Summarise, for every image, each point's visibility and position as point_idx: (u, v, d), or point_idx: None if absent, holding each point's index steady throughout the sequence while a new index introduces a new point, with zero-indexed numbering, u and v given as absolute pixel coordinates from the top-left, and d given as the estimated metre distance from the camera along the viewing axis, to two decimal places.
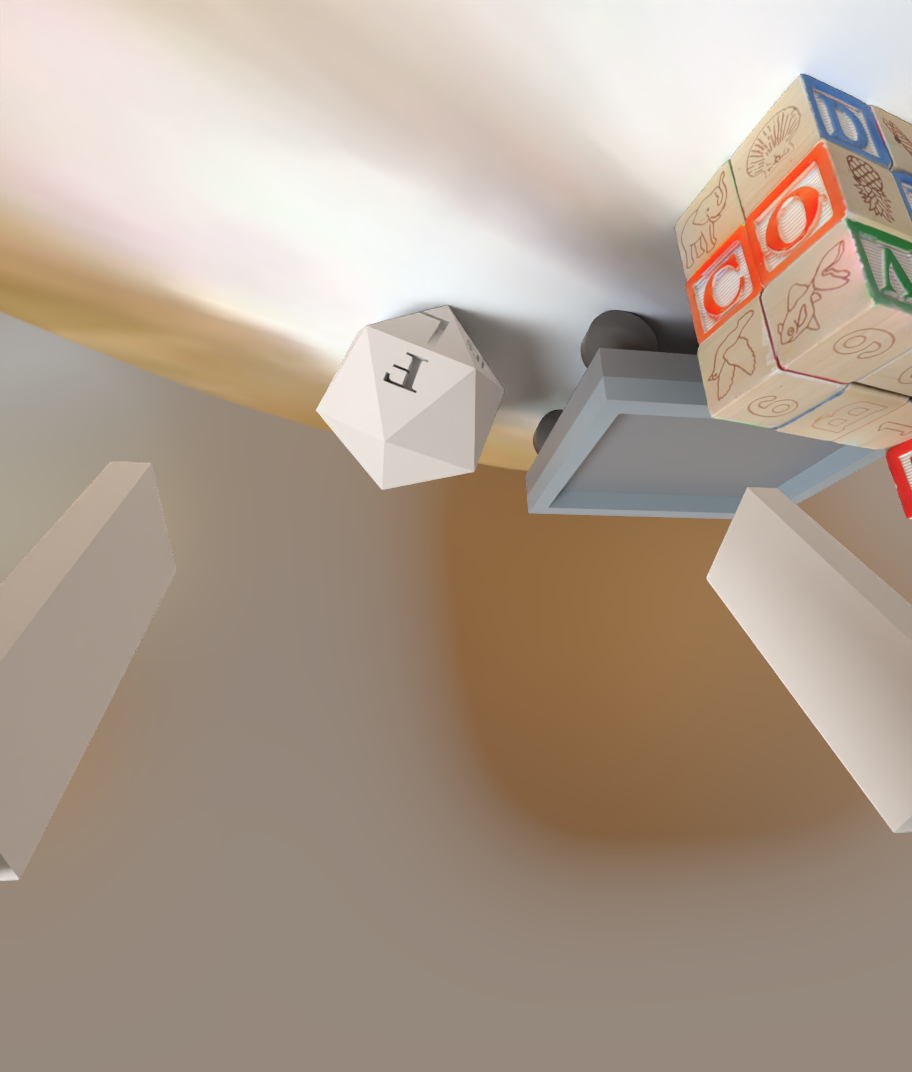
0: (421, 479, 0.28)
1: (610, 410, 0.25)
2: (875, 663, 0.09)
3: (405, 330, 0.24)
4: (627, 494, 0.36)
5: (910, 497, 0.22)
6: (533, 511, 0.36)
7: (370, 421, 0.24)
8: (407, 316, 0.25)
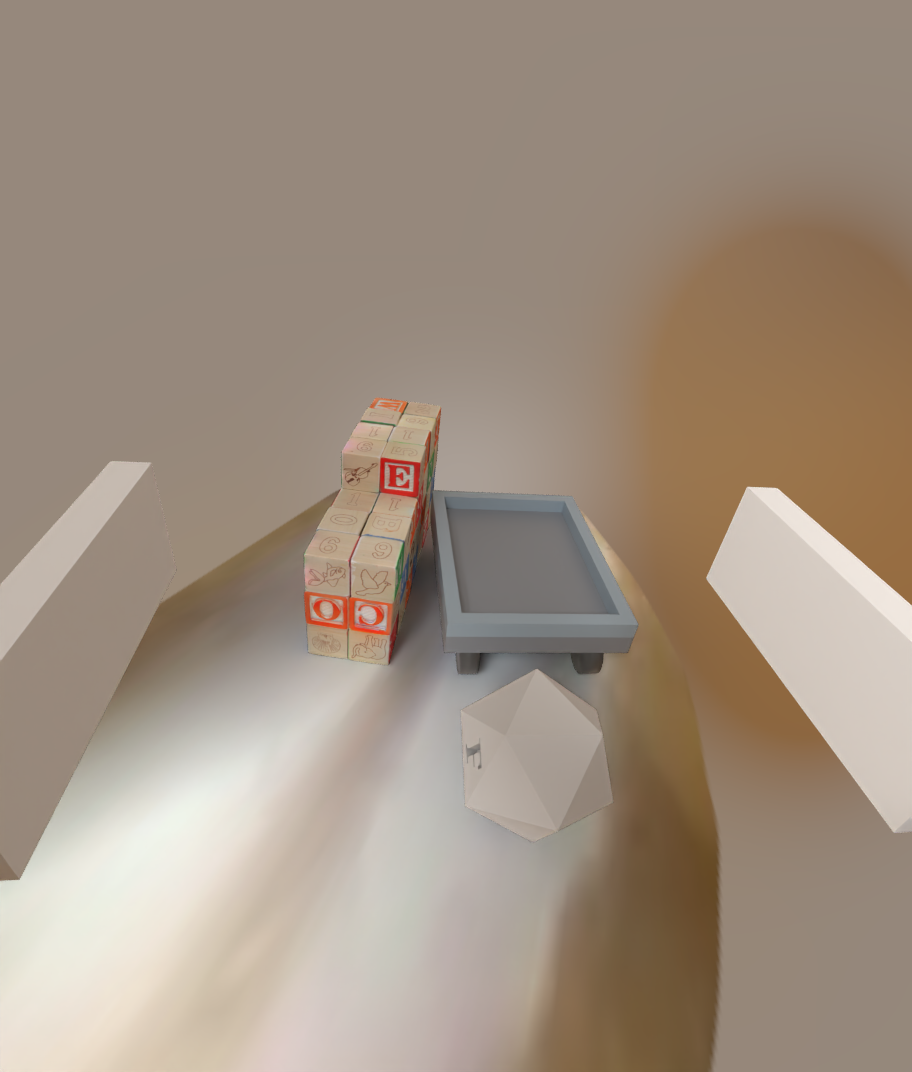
0: (566, 703, 0.30)
1: (459, 617, 0.36)
2: (876, 663, 0.09)
3: None
4: (592, 576, 0.43)
5: (415, 471, 0.42)
6: (633, 622, 0.38)
7: (507, 759, 0.28)
8: None
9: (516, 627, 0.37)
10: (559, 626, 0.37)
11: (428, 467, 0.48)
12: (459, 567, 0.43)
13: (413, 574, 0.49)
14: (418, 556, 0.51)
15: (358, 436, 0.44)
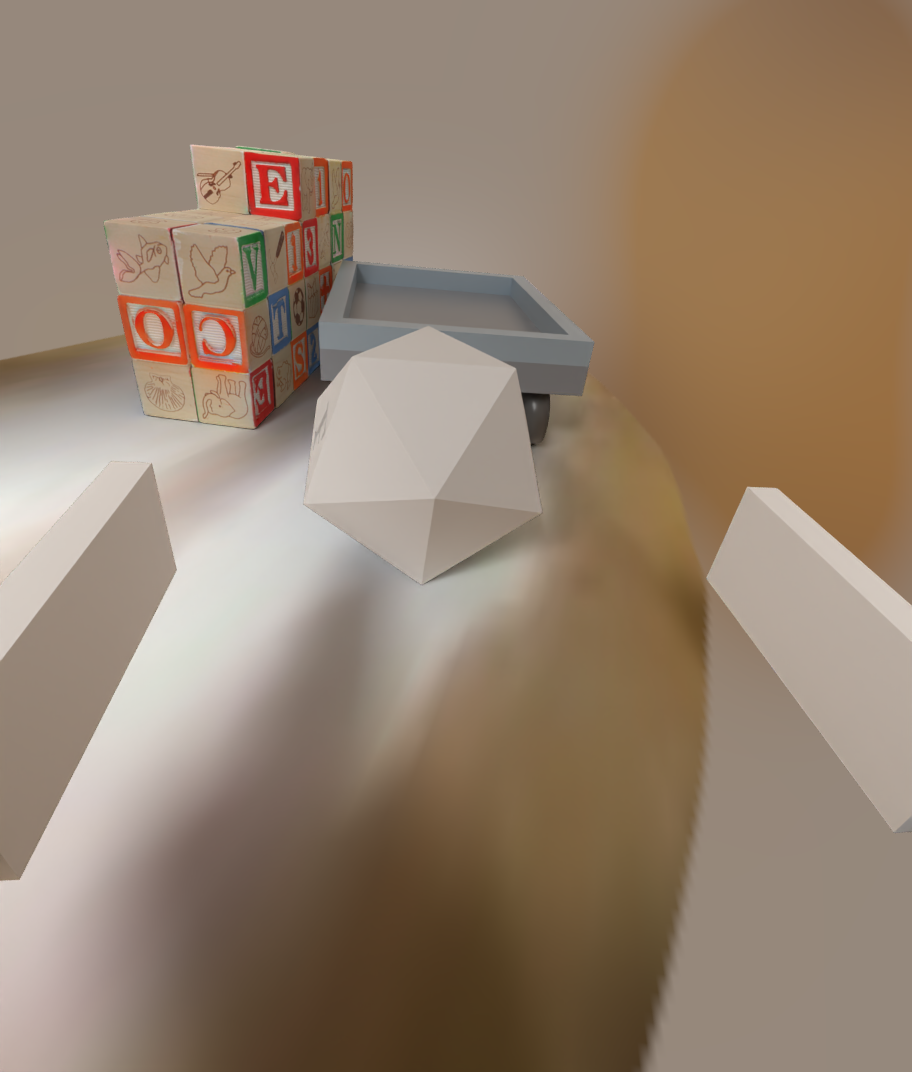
0: (464, 347, 0.19)
1: (337, 320, 0.25)
2: (876, 663, 0.09)
3: None
4: (539, 328, 0.33)
5: (293, 173, 0.31)
6: (586, 340, 0.27)
7: (356, 398, 0.17)
8: None
9: None
10: (482, 338, 0.26)
11: (330, 221, 0.37)
12: (361, 312, 0.32)
13: (314, 365, 0.38)
14: None
15: (223, 147, 0.33)
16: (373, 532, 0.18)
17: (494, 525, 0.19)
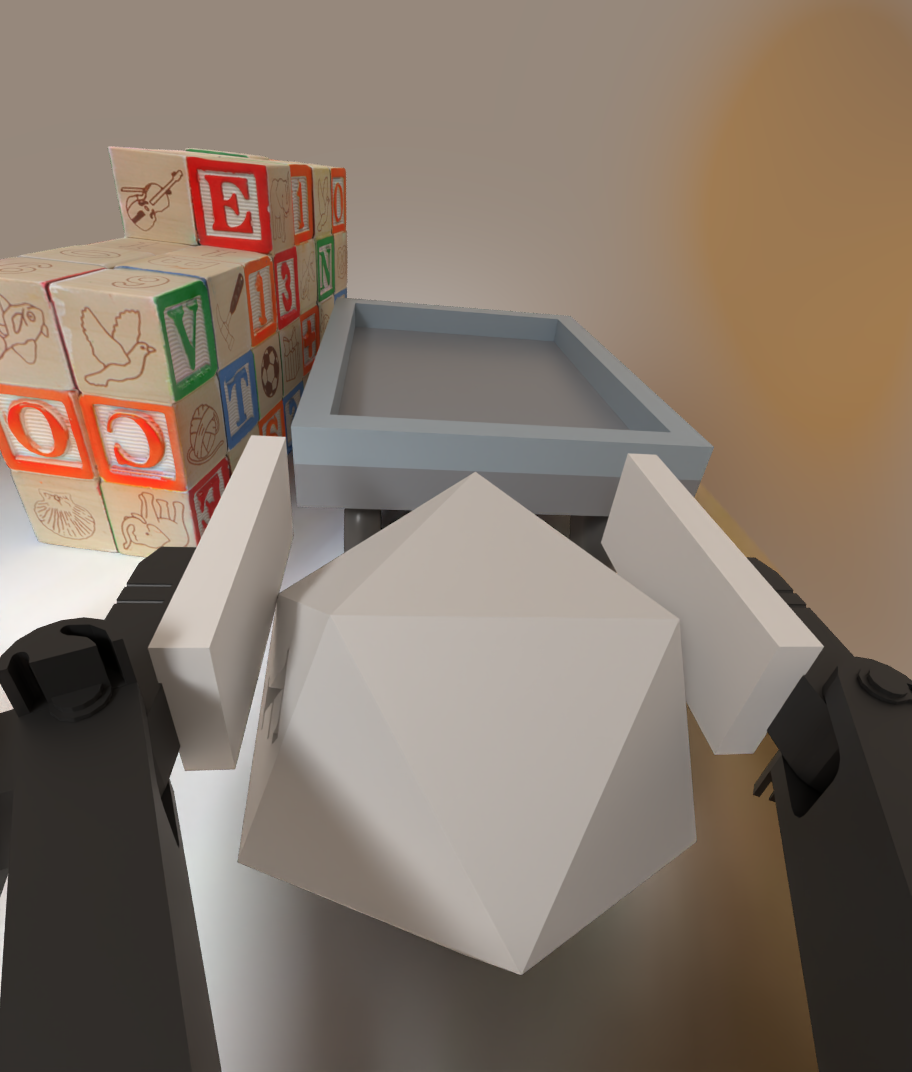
0: (555, 541, 0.10)
1: (321, 420, 0.16)
2: (705, 603, 0.10)
3: None
4: (609, 402, 0.23)
5: (258, 188, 0.21)
6: (701, 443, 0.18)
7: (340, 703, 0.08)
8: None
9: (449, 444, 0.17)
10: (544, 445, 0.17)
11: (315, 248, 0.28)
12: (359, 381, 0.23)
13: None
14: None
15: (164, 150, 0.23)
16: (377, 918, 0.09)
17: None
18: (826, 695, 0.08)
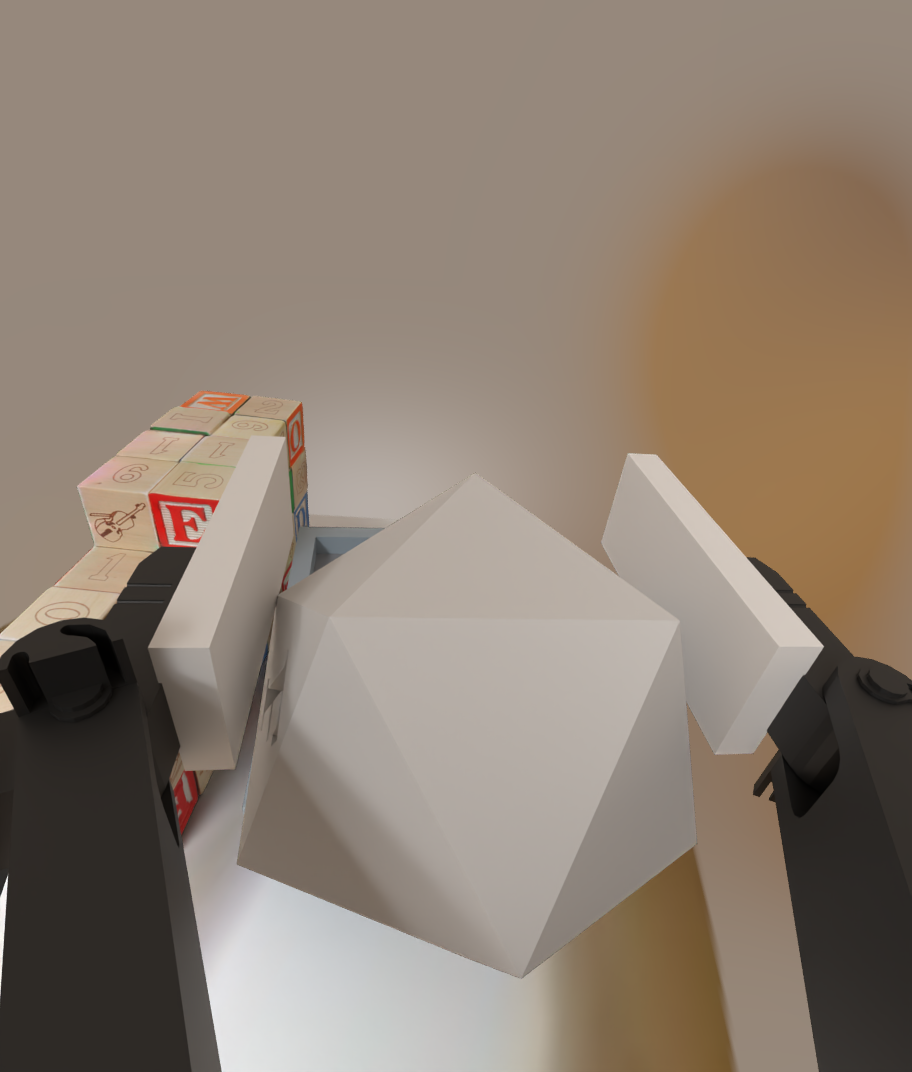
0: (555, 542, 0.10)
1: None
2: (705, 603, 0.10)
3: None
4: None
5: None
6: None
7: (340, 705, 0.08)
8: None
9: None
10: None
11: None
12: None
13: None
14: None
15: (129, 455, 0.26)
16: None
17: None
18: (826, 695, 0.08)
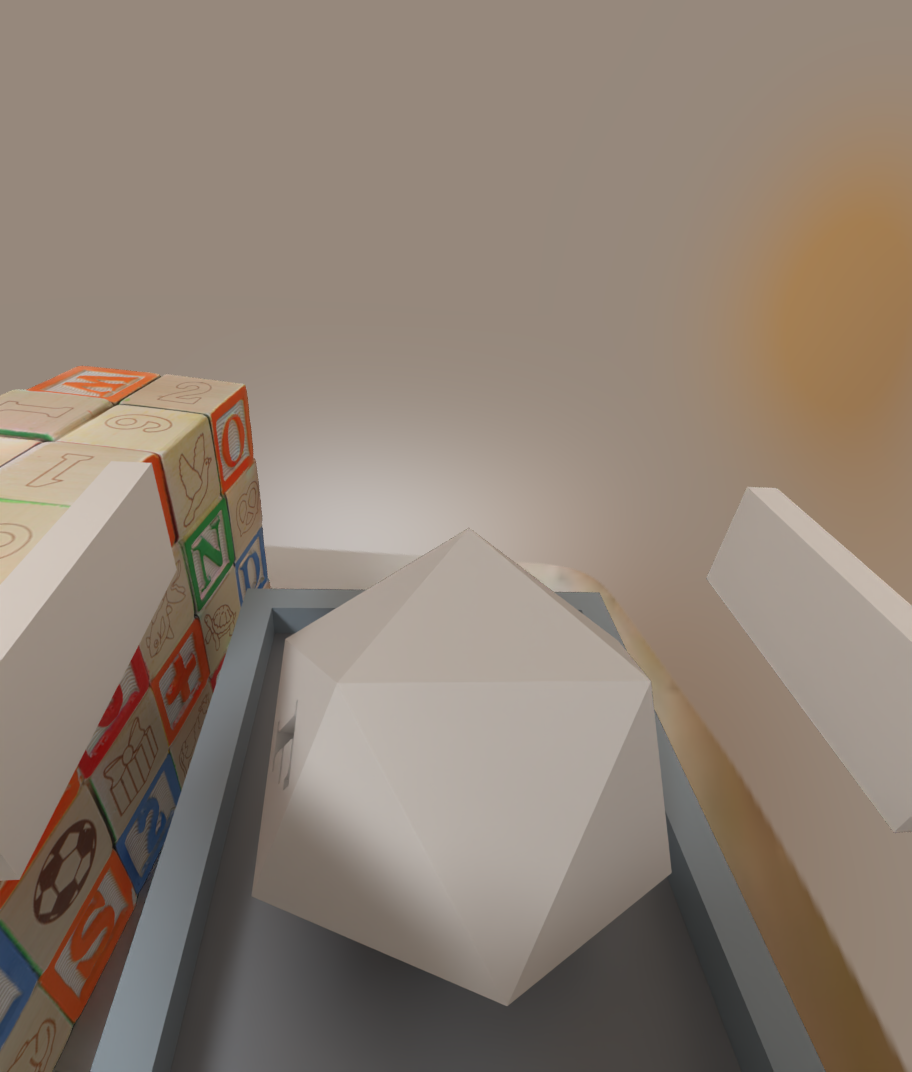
0: (541, 601, 0.10)
1: None
2: (876, 664, 0.09)
3: None
4: (683, 915, 0.13)
5: None
6: None
7: (347, 760, 0.09)
8: None
9: None
10: None
11: (183, 553, 0.17)
12: (238, 900, 0.13)
13: (160, 841, 0.18)
14: None
15: None
16: None
17: None
18: None
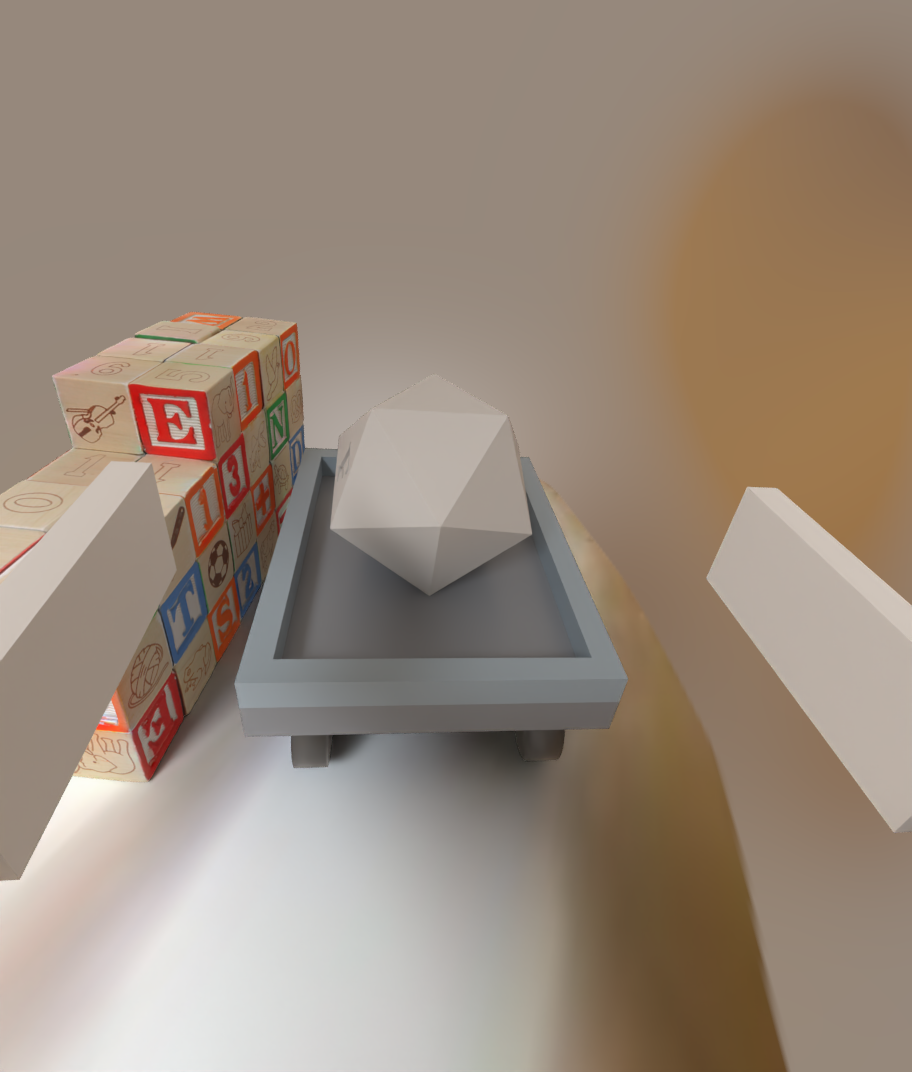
0: (465, 395, 0.22)
1: (264, 670, 0.18)
2: (876, 663, 0.09)
3: None
4: (550, 584, 0.25)
5: (199, 409, 0.22)
6: (617, 673, 0.19)
7: (376, 442, 0.20)
8: None
9: (381, 688, 0.18)
10: (469, 684, 0.19)
11: (266, 417, 0.29)
12: (316, 568, 0.24)
13: (251, 597, 0.29)
14: (267, 566, 0.32)
15: (110, 355, 0.24)
16: (389, 552, 0.22)
17: (491, 545, 0.22)
18: None
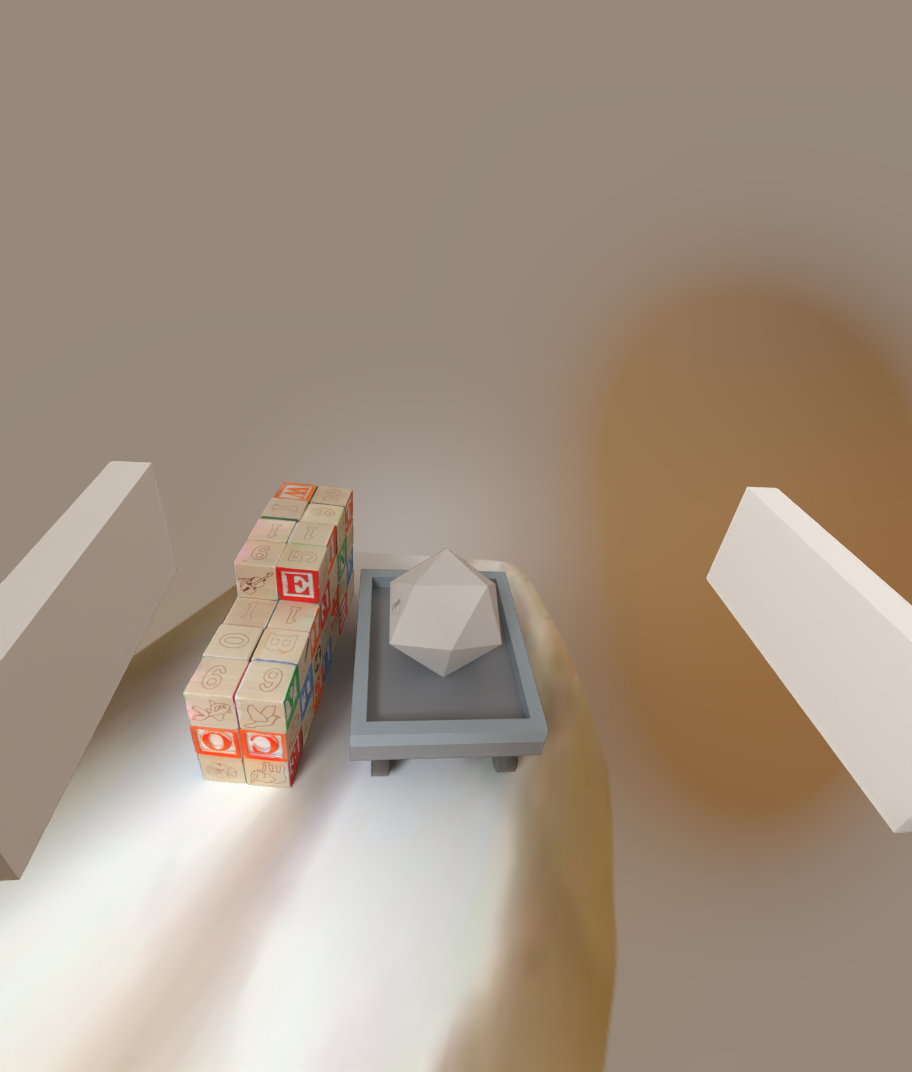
0: (464, 568, 0.40)
1: (362, 728, 0.36)
2: (876, 664, 0.09)
3: None
4: (513, 668, 0.43)
5: (313, 578, 0.40)
6: (543, 727, 0.37)
7: (416, 602, 0.38)
8: None
9: (421, 736, 0.36)
10: (466, 734, 0.36)
11: (337, 559, 0.46)
12: (377, 660, 0.42)
13: (327, 669, 0.47)
14: (334, 646, 0.49)
15: (255, 538, 0.41)
16: (421, 656, 0.40)
17: (478, 652, 0.40)
18: None
